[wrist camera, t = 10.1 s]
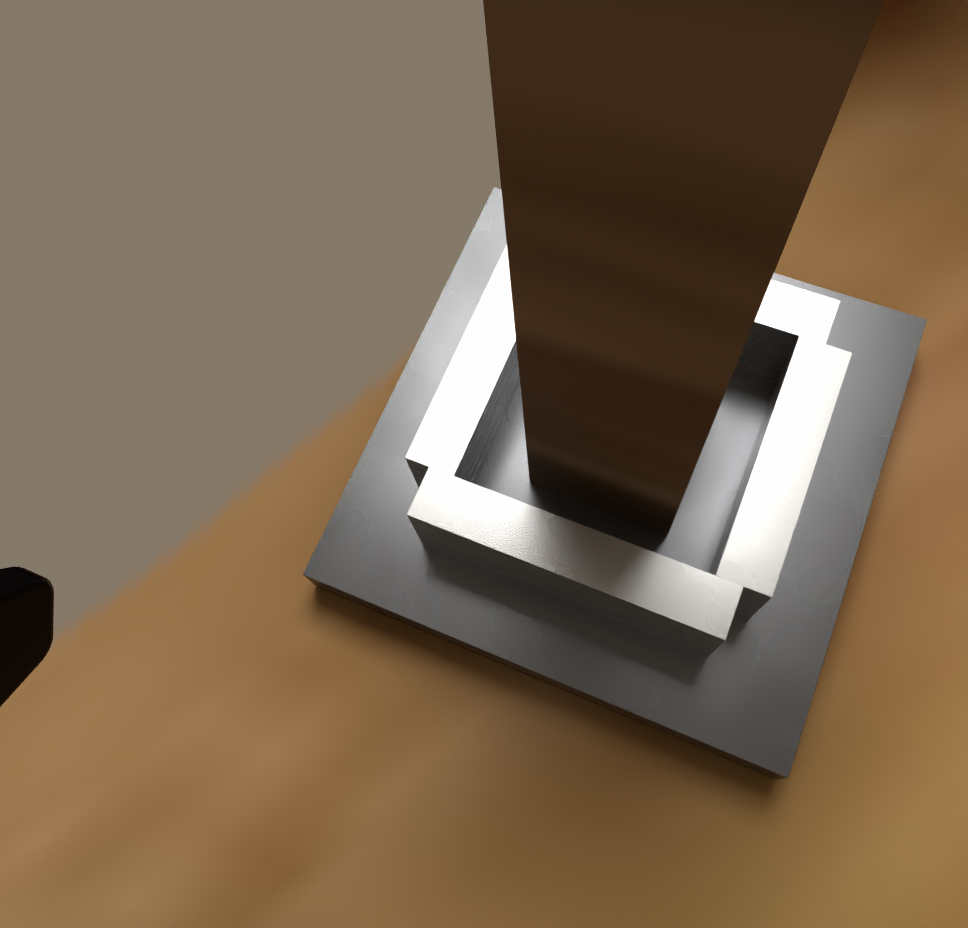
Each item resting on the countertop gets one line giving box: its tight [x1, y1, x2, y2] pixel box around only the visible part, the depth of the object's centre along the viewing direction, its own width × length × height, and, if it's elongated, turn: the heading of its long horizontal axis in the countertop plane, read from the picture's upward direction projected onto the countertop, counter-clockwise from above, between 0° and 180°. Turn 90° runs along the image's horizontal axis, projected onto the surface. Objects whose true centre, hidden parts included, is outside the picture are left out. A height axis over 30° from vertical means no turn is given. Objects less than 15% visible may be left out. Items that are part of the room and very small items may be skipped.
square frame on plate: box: [303, 188, 927, 779], centre depth 18 cm, size 10×10×3 cm
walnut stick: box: [483, 0, 884, 534], centre depth 13 cm, size 3×3×13 cm
